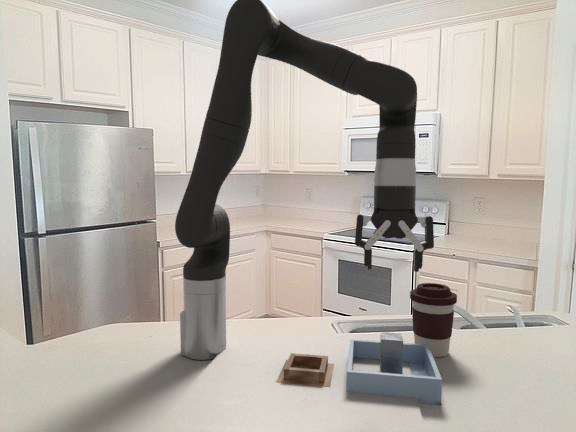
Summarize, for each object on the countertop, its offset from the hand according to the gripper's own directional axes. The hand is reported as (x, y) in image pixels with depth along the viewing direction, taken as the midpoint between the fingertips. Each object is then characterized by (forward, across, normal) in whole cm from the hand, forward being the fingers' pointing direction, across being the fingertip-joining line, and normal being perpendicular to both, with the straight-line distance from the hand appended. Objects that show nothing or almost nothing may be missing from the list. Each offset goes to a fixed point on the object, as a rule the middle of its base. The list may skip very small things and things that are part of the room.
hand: (392, 269), depth 79 cm
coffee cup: (+22, +10, +16) cm, 29 cm away
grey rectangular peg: (+21, 0, 0) cm, 21 cm away
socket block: (+22, -16, -2) cm, 27 cm away
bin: (+21, 0, 0) cm, 21 cm away
